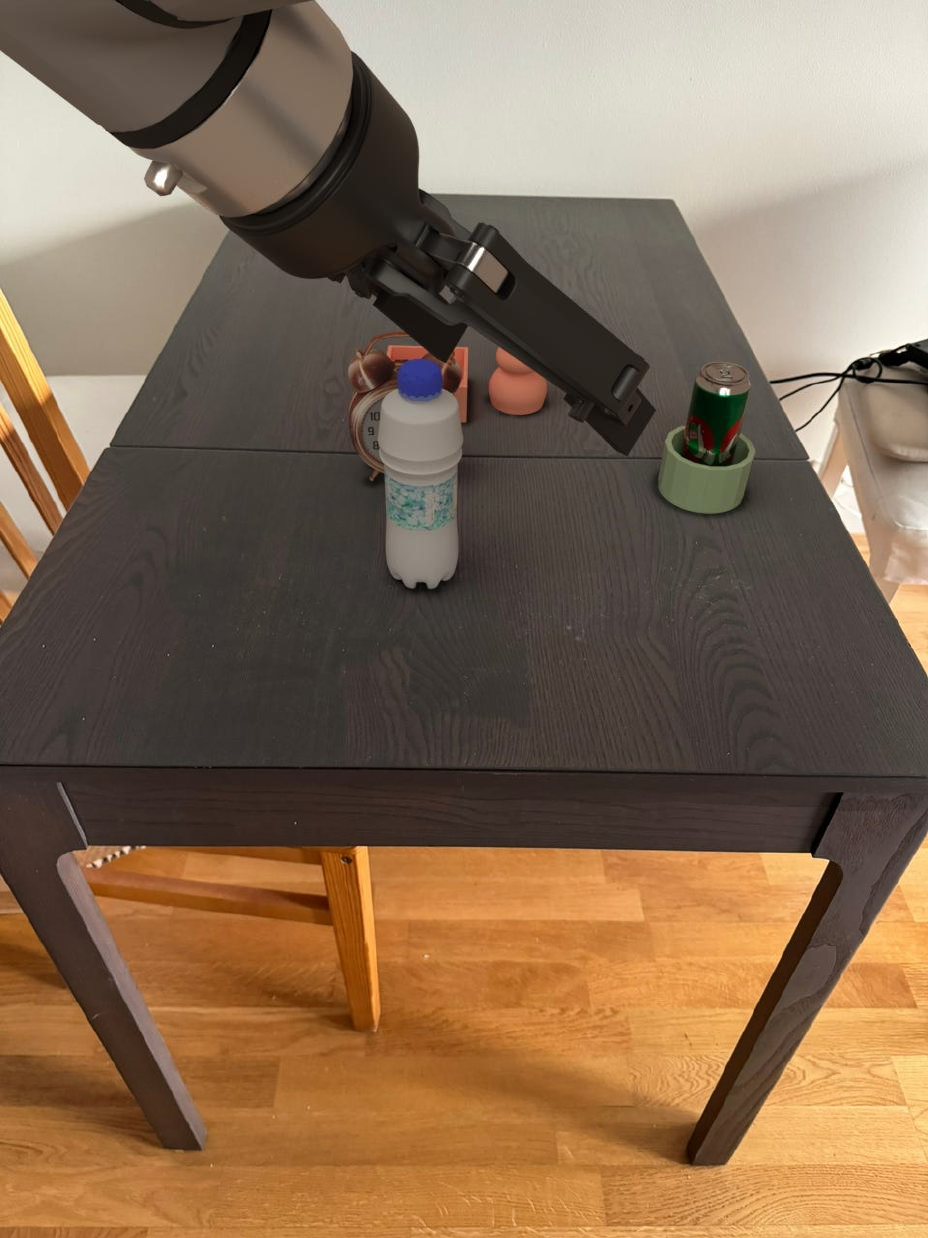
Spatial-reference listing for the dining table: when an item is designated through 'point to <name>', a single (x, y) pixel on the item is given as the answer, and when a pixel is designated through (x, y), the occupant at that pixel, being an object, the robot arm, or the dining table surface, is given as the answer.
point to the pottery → (492, 381)
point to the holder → (703, 477)
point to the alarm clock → (382, 394)
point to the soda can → (716, 414)
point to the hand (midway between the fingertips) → (538, 382)
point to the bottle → (421, 475)
